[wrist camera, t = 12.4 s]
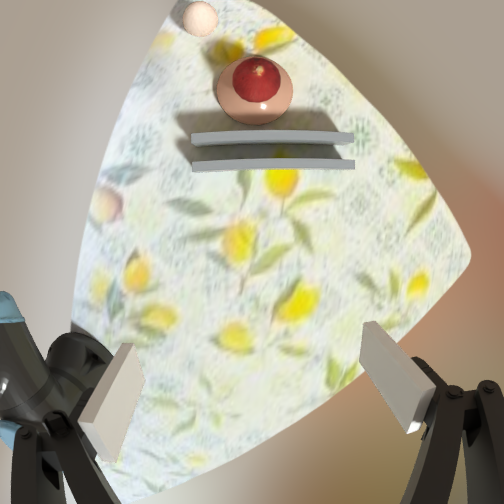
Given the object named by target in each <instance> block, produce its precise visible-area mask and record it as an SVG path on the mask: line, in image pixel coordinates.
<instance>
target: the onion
mask: <svg viewBox="0 0 504 504" xmlns="http://www.w3.org/2000/svg"><path fill="white" fill-rule="evenodd" d="M232 85H233V87H234V90H235V92H236V93H237V94H238V95H239V96H240V97H241V98H242V99H243V100H246V101H248V102H254V103H260V102H264V101H267V100H269V99H270V98H272V97H273V96H275V95H276V94H277V92H278V90H279V88H280V85H281V76H280V73H279V70H278V68H277V67H276V66H275V65H274V64H273V63H272V62H271V61H269V60H267V59H264V58H258V57H252V58H249V59H247V60H244V61H243V62H241V63H240V64H239V65H238V66H237V67H236V69H235V71H234V73H233V76H232Z"/></svg>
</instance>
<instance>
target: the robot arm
mask: <svg viewBox="0 0 504 504" xmlns="http://www.w3.org/2000/svg"><path fill="white" fill-rule="evenodd" d="M359 362H360V363H361V365H362V366H363V368H364V369H365V371H366V372H367V374H368V375H369V377H370V378H371V380H372V381H373V383H374V385H375V386H376V388H377V389H378V390H379V392H380V394H381V395H382V397H383V398H384V400H385V401H386V403H387V404H388V406H389V407H390V409H391V410H392V412H393V413H394V415H395V416H396V418H397V420H398V421H399V423H400V424H401V426H402V427H403V429H404V431H405V432H406V434H408V433H411V432H414V431H416V430H419V429H420V428H421V425H422V423H423V421H424V422H425V423H426V425H427V427H426V430H425V432H424V434H423V436H422V438H421V440H422V444H421V447H420V450H419V453H418V457H417V460H416V463H415V466H414V469H413V472H412V474H411V477H410V480H409V482H408V485H407V488H406V490H405V493H404V495H403V498H402V500H401V502H400V504H447V503H448V499H449V496H450V492H451V488H452V484H453V480H454V475H455V471H456V466H457V461H458V456H459V450H460V444H461V437H462V440H463V448H464V457H465V466H466V478H467V495H468V504H504V397H503V395H502V392H501V389H500V387H499V385H498V384H497V383H496V382H494V381H490V380H484V381H481V382H480V383H479V385H478V387H477V389H476V390H471V391H464V390H463V389H462V388H460V387H458V386H455V385H449V386H448V385H447V384H446V383H445V382H444V381H443V380H442V379H441V378H440V377H439V375H438V374H437V373H436V372H435V371H433V369H432V368H431V367H429V365H428V364H427V363H426V362H425V361H424V360H422V359H420V358H418V357H412V358H410V357H409V356H408V355H407V354H406V353H405V352H404V351H403V350H402V348H401V347H399V345H397V343H396V342H395V341H394V340H393V339H392V338H391V337H390V336H389V335H388V334H387V333H386V332H385V331H384V329H383V328H382V327H381V326H380V325H379V324H378V323H377V322H376V321H371V322H365V323H363V333H362V342H361V350H360V358H359ZM144 383H145V378H144V375H143V372H142V369H141V365H140V362H139V359H138V355H137V352H136V348H135V345H134V343H122V344H121V346H120V348H119V349H118V351H117V353H116V354H115V356H114V357H113V356H112V355H111V354H110V353H109V351H108V350H107V349H106V348H104V347H103V346H102V345H101V344H100V343H98V342H97V341H95V340H94V339H92V338H90V337H88V336H86V335H83V334H79V333H65V334H62V335H61V336H59V337H58V338H57V339H56V340H55V341H54V342H53V343H52V344H51V347H50V348H49V350H48V354H47V358H46V360H45V361H44V359H43V357H42V355H41V353H40V352H39V350H38V348H37V346H36V344H35V342H34V340H33V338H32V336H31V334H30V332H29V330H28V327H27V326H26V323H25V319H24V317H22V315H21V313H20V311H19V309H18V307H17V305H16V303H15V301H14V299H13V297H12V296H11V295H10V294H9V293H7V292H5V291H0V419H1V420H0V438H1V439H2V440H3V441H4V443H5V444H6V445H7V446H8V447H9V448H10V449H12V450H13V457H12V472H11V504H66V498H65V491H64V482H63V473H64V475H65V478H66V480H67V483H68V485H69V487H70V489H71V492H72V494H73V496H74V498H75V501H76V502H77V504H121V502H120V501H119V499H118V497H117V496H116V494H115V493H114V491H113V490H112V488H111V486H110V485H109V483H108V481H107V480H106V478H105V476H104V474H103V473H102V471H101V469H100V467H99V466H98V464H97V462H96V461H95V457H96V454H98V456H99V457H100V459H101V460H102V461H107V462H113V463H116V462H117V459H118V456H119V453H120V450H121V447H122V444H123V441H124V438H125V435H126V433H127V430H128V427H129V424H130V421H131V418H132V416H133V413H134V410H135V407H136V405H137V402H138V399H139V397H140V394H141V391H142V389H143V386H144Z"/></svg>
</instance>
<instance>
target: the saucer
mask: <svg viewBox="0 0 504 504" xmlns="http://www.w3.org/2000/svg"><path fill="white" fill-rule="evenodd" d="M249 58H252V57H245V58H242V59H239V60H237V61H235V62H233V63H231V64H230V65H229V66H227V67H226V68H225V69H224V71H223V72H222V74H221V75H220V77H219V80H218V84H217V95H218V100H219V103H220V105H221V107H222V108H223V110H224V111H225V112H226V113H227V114H228V115H229V116H230V117H231V118H233V119H235V120H236V121H238V122H241V123H244V124H249V125H262V124H267V123H270V122H272V121H274V120H276V119H277V118H279V117H280V116H281V115H282V114H283V113H284V112H285V111H286V110H287V108H288V107H289V105H290V103H291V100H292V96H293V86H292V82H291V79H290V77H289V75H288V74H287V72H286V71H285V70H284V69H283V68H282V67H281V66H280V65H279V64H277V63H276V62H274V61H272V60H270V59H267V58H264V59H267V60H269V61H271V62H272V63H273V64H274V65H275V66H276V67H277V68H278V70H279V73H280V76H281V85H280V88H279V90H278V92H277V94H276V95H275V96H273V97H272V98H270V99H269V100H267V101H264V102H260V103H254V102H248V101H246V100H243V99H242V98H241V97H240V96H239V95H238V94H237V93H236V92H235V90H234V87H233V85H232V76H233V73H234V71H235V69H236V67H237V66H238V65H239V64H240V63H241V62H243V61H244V60H247V59H249ZM258 58H263V57H258Z"/></svg>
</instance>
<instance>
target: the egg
mask: <svg viewBox="0 0 504 504" xmlns="http://www.w3.org/2000/svg"><path fill="white" fill-rule="evenodd" d="M217 24H218V16H217V12H216V10H215V9H214V8H213V7H212V6H211V5H210V4H208V3H206V2H203V1H196V2H193V3H191V4H190V5H189V6H188V7H187V8H186V9H185V11H184V14H183V25H184V27H185V29H186V31H187V32H188V33H190V34H191V35H193V36H197V37H204V36H207V35H209V34H210V33H212V32H213V31H214V30H215V28H216V27H217Z"/></svg>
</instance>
